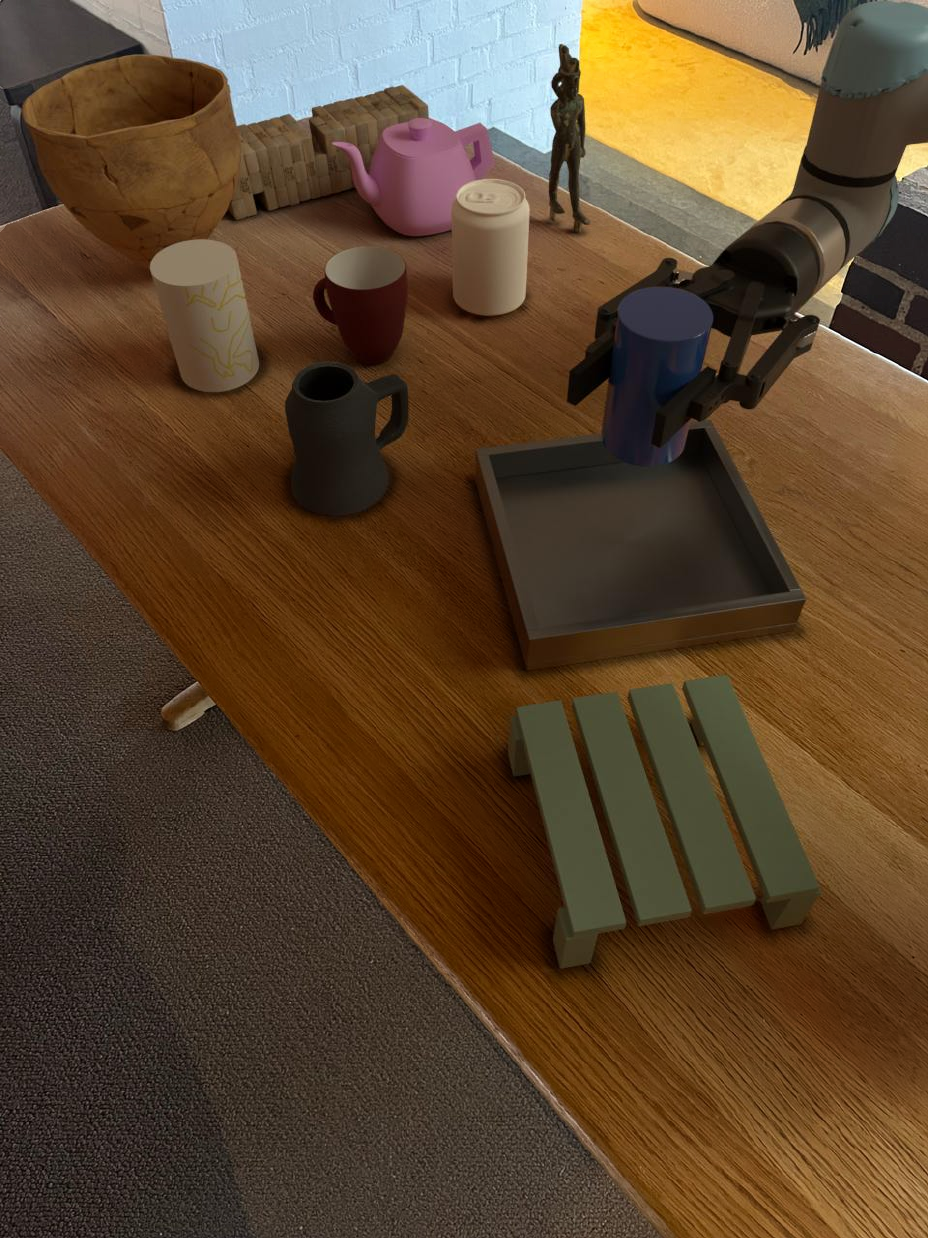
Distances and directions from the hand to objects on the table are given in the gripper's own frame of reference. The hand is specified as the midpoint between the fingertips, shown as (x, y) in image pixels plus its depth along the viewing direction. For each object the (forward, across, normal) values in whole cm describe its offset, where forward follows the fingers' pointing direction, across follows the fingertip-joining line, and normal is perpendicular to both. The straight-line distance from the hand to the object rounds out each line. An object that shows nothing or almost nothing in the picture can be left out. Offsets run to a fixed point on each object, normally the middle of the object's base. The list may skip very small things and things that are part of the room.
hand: (614, 408), depth 66 cm
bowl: (-9, +66, -19) cm, 69 cm away
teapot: (-37, +52, -19) cm, 66 cm away
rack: (+16, -16, -18) cm, 29 cm away
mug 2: (+3, +25, -19) cm, 31 cm away
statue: (-45, +35, -19) cm, 60 cm away
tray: (-5, 0, -18) cm, 19 cm away
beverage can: (-28, +33, -19) cm, 47 cm away
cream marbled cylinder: (0, +47, -19) cm, 51 cm away
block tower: (-35, +67, -19) cm, 78 cm away
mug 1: (-12, +37, -19) cm, 43 cm away
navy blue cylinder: (-5, 0, -6) cm, 8 cm away
